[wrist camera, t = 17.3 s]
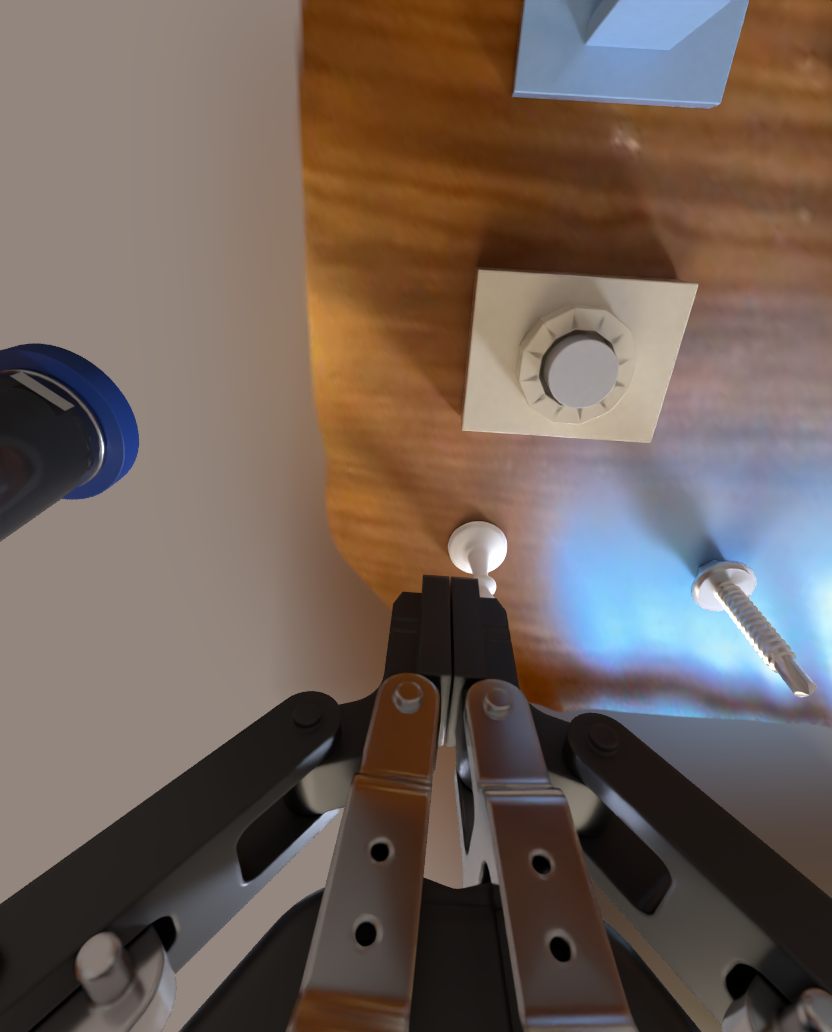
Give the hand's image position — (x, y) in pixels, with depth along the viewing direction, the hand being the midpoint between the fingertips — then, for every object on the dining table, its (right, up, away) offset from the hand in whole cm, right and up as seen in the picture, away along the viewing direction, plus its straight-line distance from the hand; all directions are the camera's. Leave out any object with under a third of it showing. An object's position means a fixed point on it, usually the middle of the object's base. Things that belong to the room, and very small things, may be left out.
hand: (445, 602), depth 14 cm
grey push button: (+9, +11, +17) cm, 22 cm away
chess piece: (+4, 0, +29) cm, 29 cm away
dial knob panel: (+9, +13, +21) cm, 26 cm away
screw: (+24, -2, +29) cm, 38 cm away
